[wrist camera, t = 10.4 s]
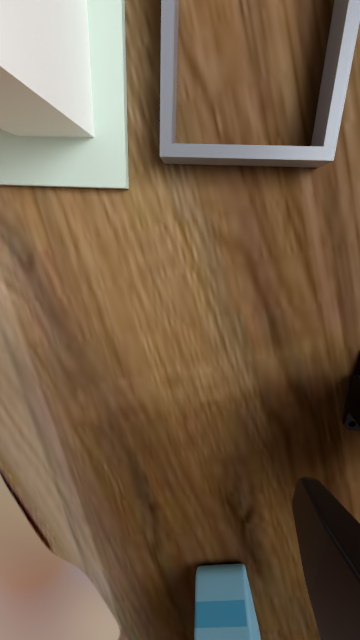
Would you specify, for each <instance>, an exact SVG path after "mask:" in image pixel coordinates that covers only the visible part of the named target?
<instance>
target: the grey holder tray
mask: <svg viewBox="0 0 360 640" xmlns="http://www.w3.org/2000/svg"><path fill="white" fill-rule="evenodd" d="M359 22H360V0H334V6H333V12H332V18H331V25H330V31H329V37H328V43H327V49H326V56H325V62H324V68H323V74H322V80H321V87H320V93H319V99H318V105H317V111H316V117H315V124H314V130H313V136H312V142H311V146H271V145H222V144H175V141H176V102H177V64H178V25H179V0H161V74H160V158H161V159H162V161H163V162H164V164H193V165H233V166H273V167H313V168H319V167H321V166H323V165H325V164H327V163H329V162H332V161H334V155H335V150H336V145H337V139H338V134H339V129H340V123H341V118H342V113H343V107H344V102H345V97H346V91H347V86H348V81H349V75H350V70H351V65H352V59H353V54H354V48H355V43H356V38H357V32H358V27H359Z"/></svg>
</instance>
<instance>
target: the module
mask: <svg viewBox="0 0 360 640" xmlns="http://www.w3.org/2000/svg"><path fill="white" fill-rule="evenodd" d="M0 129H2V130H5V131H7V132H9V133H11V134H13V135H16V136H43V137H94V121H93V103H92V85H91V67H90V48H89V30H88V12H87V0H0Z"/></svg>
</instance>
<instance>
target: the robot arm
mask: <svg viewBox="0 0 360 640" xmlns="http://www.w3.org/2000/svg"><path fill="white" fill-rule="evenodd" d="M345 408H346V409H345V413H344V417H343V424H344V425H345V427H346V428H347V429H350V430H360V357H359V361H358V364H357V368H356V372H355V375H354V376H353V378H352V380H351V384H350V388H349V392H348V396H347V399H346V403H345ZM351 421H353V422H352V423H349V422H351ZM292 507H293V514H294V520H295V526H296V531H297V537H298V543H299V548H300V554H301V560H302V565H303V571H304V576H305V581H306V585H307V589H308V593H309V597H310V601H311V605H312V608H313V612H314V616H315V619H316V623H317V627H318V630H319V634H320V638H321V640H360V523H359V522H358V521H357V520H356V519H355V518H354V517H353V516H352V515H351V514H350V513H349V512H348V511H347V510H346V509H345V508H344V507H343V506H342V505H341V504H340V502H339V501H338V500H337V499H336V498H335V497H334V496H333V495H332V494H331V493H330V492H329V491H328V490H327V489H326V488H325V487H324V486H323V485H322V484H321V483H320V482H319V481H318V480H317V479H315V478H310V477H299V478H298V480H297V484H296V488H295V492H294V496H293V501H292Z"/></svg>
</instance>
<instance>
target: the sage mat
mask: <svg viewBox="0 0 360 640" xmlns="http://www.w3.org/2000/svg"><path fill="white" fill-rule="evenodd" d="M87 12H88V30H89V48H90V67H91V85H92V103H93V121H94V137H43V136H16V135H13V134H11V133H9V132H7V131H5V130H2V129H0V185H13V186H45V187H78V188H111V189H129V179H128V134H127V88H126V42H125V0H87Z"/></svg>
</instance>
